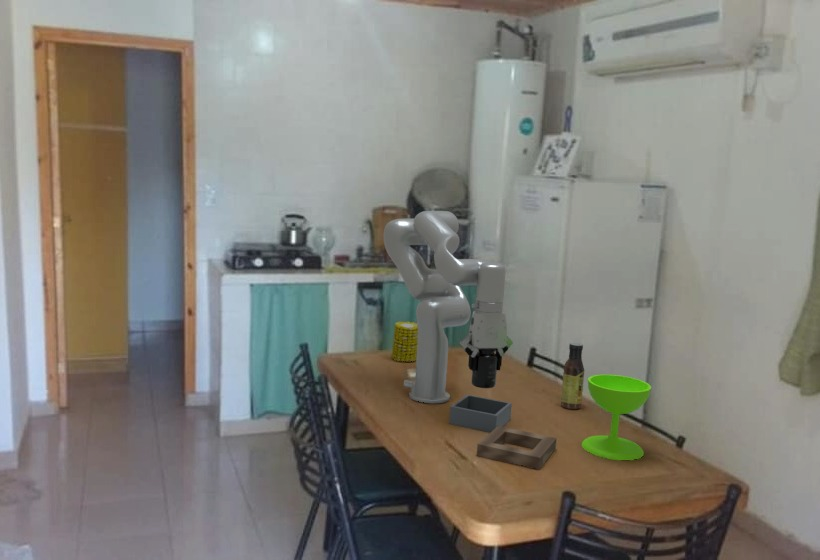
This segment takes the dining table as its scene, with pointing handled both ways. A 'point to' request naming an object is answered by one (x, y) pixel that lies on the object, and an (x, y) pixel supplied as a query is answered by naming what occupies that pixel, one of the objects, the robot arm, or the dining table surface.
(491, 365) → the supplement bottle
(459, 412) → the bin
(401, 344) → the food
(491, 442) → the socket block
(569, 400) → the sauce bottle
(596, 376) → the wineglass
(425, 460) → the dining table surface
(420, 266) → the robot arm
